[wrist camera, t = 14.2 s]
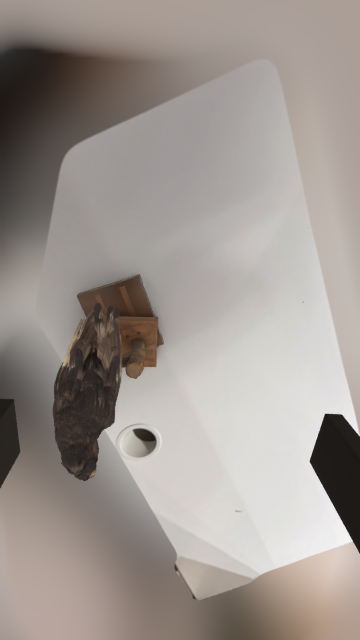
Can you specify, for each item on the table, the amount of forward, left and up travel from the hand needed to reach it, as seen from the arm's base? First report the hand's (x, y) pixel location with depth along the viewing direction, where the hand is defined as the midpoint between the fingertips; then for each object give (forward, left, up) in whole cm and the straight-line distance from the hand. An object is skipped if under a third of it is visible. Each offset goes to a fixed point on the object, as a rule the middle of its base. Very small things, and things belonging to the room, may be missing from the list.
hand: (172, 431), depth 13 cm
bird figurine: (+9, -6, -36) cm, 38 cm away
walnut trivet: (+9, -6, -37) cm, 39 cm away
